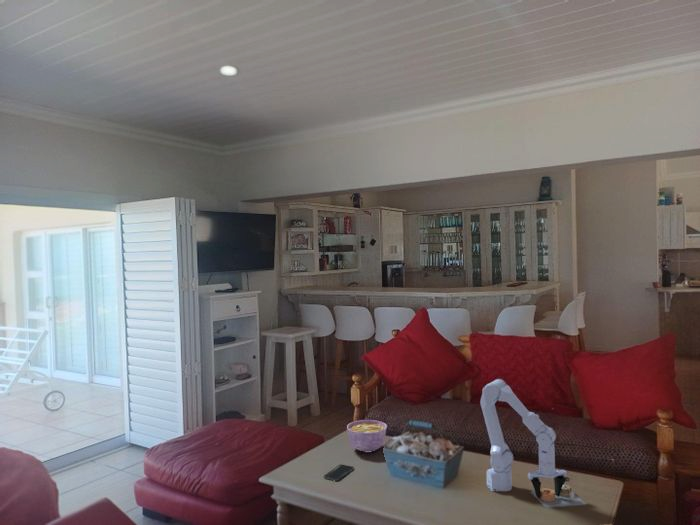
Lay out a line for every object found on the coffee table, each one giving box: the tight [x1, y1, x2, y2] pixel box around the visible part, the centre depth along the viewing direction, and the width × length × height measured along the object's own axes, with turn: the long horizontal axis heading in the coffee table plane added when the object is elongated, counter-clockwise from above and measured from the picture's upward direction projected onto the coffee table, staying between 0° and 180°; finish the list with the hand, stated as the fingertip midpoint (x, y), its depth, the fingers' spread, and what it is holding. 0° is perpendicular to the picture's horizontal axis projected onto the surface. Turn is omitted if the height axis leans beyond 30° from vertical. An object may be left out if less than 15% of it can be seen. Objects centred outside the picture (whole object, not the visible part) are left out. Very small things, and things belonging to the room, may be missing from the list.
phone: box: [323, 464, 355, 482], centre depth 229 cm, size 8×1×15 cm
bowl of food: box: [346, 419, 388, 452], centre depth 257 cm, size 20×20×12 cm
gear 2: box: [560, 483, 572, 497], centre depth 201 cm, size 6×6×4 cm
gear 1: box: [540, 487, 556, 502], centre depth 198 cm, size 6×6×3 cm
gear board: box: [530, 485, 587, 509], centre depth 198 cm, size 16×13×4 cm
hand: (547, 496), depth 198 cm, fingers open, 7 cm apart
